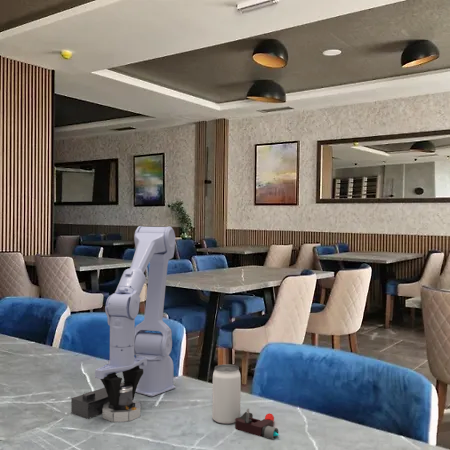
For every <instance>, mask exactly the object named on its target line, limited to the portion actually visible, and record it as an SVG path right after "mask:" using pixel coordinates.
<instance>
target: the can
mask: <svg viewBox="0 0 450 450" xmlns="http://www.w3.org/2000/svg"><path fill="white" fill-rule="evenodd" d="M239 369H240V367H239V366H238V365H234V364H226V363H225V364H218V365H215V366H214V370H213V374H212V401H211V403H212V410H211V411H212V420H213V421H214V422H215V423H217V424H220V425H233V424H235V419H236V418H239V417H241V398H242V396H241V389H242V388H241V387H242V385H241V379H242V377H241V376H242V375H241V372H240V370H239Z"/></svg>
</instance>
